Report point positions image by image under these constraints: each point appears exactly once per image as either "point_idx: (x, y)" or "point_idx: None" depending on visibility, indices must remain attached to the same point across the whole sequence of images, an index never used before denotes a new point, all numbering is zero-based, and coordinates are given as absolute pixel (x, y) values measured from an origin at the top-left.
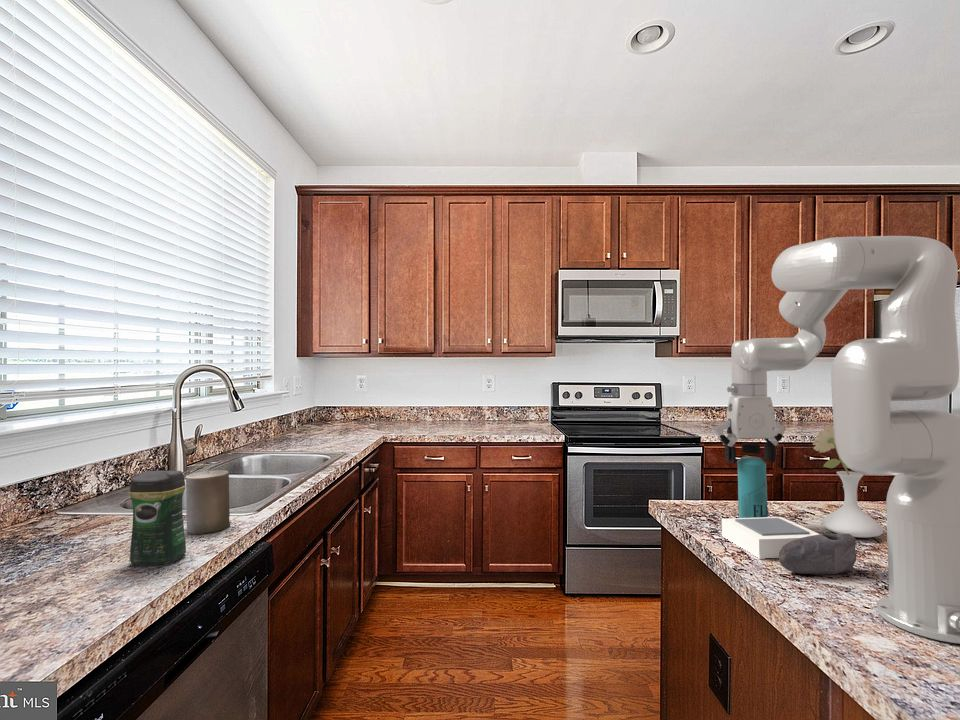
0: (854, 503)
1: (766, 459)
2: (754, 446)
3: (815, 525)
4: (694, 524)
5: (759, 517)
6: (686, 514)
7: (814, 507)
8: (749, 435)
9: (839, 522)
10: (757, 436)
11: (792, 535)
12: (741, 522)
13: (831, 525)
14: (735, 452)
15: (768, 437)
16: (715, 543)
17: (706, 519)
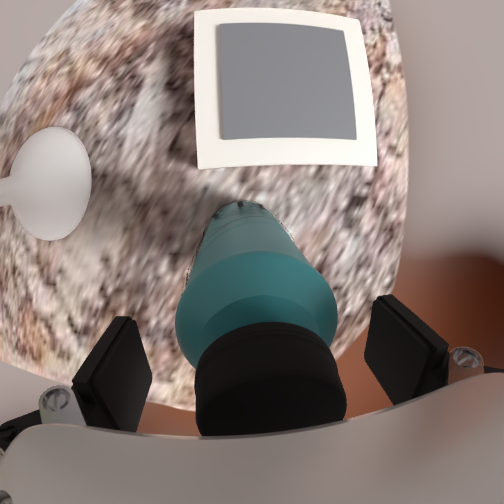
0: (9, 176)
1: (146, 365)
2: (285, 367)
3: (91, 242)
4: (370, 256)
5: (246, 203)
6: (347, 328)
7: (59, 355)
8: (425, 427)
9: (68, 155)
10: (287, 450)
11: (270, 21)
12: (354, 109)
13: (84, 165)
14: (409, 329)
15: (99, 430)
16: (387, 126)
17: None
